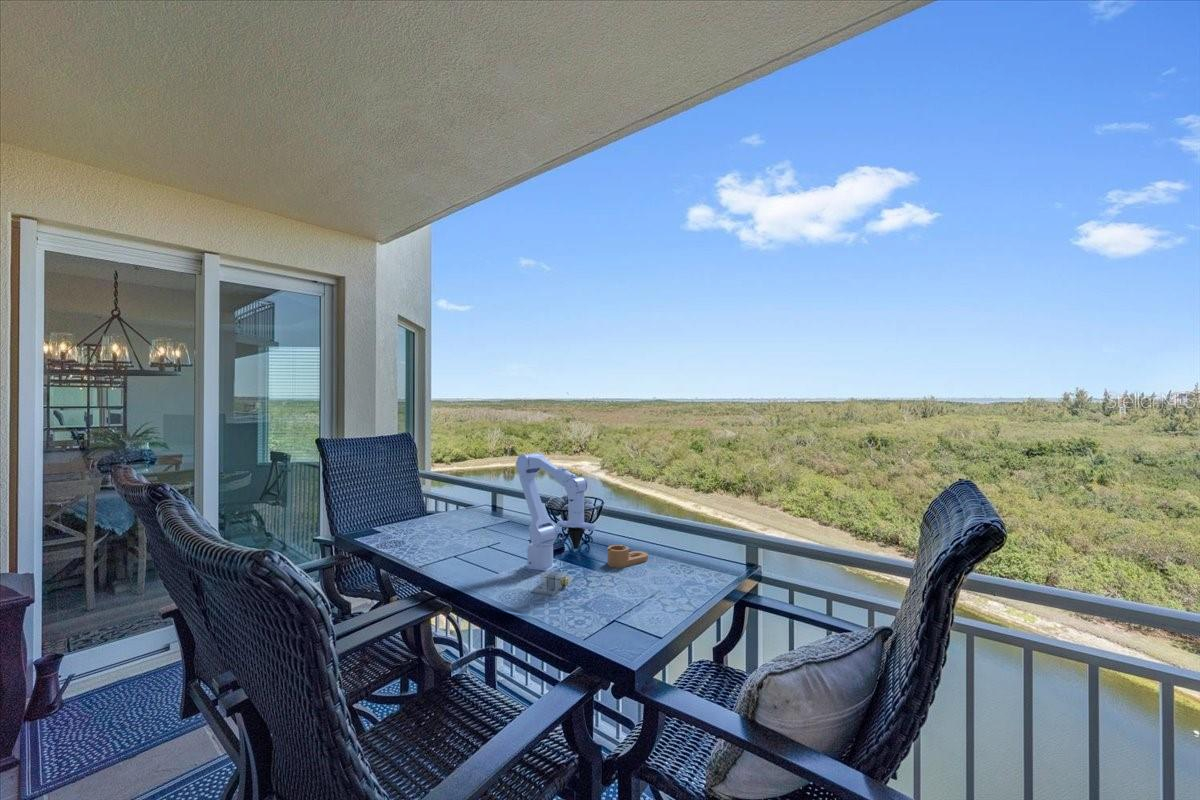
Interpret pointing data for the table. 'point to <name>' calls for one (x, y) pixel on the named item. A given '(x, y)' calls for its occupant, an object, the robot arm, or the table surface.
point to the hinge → (551, 582)
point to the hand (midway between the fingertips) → (576, 548)
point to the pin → (565, 581)
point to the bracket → (624, 556)
